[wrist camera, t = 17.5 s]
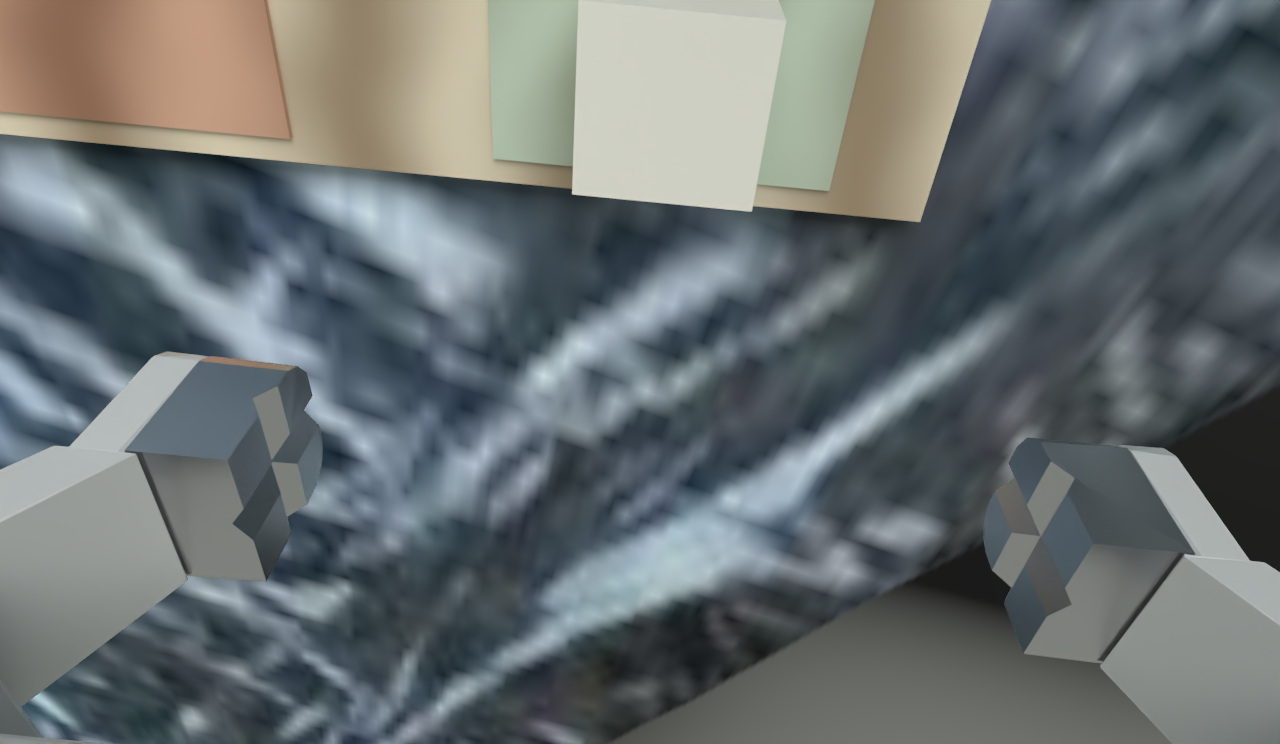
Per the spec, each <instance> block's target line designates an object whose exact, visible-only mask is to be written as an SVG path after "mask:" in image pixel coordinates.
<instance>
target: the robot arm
mask: <svg viewBox="0 0 1280 744" xmlns="http://www.w3.org/2000/svg"><path fill="white" fill-rule="evenodd" d="M311 397H312V392H311V388H310V385H309V381H308V377H307V373H306V372H305V371H303V370H302V369H301V368H299V367H298V366H290V365H282V364H273V363H265V362H257V361H248V360H240V359H232V358H223V357H215V356H211V357H207V356H201V355H193V354H184V353H175V352H164V353H161V354H158V355H155V356H153V357H152V358H151V359H150V360H149V361H148V362H147V363H146V364H145V366H144V367H143V368H142V369H141V370H140V371H139V372H138V373H137V374H136V375H135V376H134V377H133V378H132V380H131V381H130V382H129V383H128V384H127V385H126V386H125V387H124V388H123V389H122V390H121V391H120V393H119V394H118V395H117V396H116V397H115V398H114V399H113V400H112V401H111V402H110V403H109V404H108V405H107V407H106V408H105V409H104V410H103V411H102V412H101V413H100V414H99V415H98V416H97V417H96V418H95V419H94V421H93V422H92V423H91V424H90V425H89V426H88V427H87V428H86V429H85V430H84V431H83V432H82V434H81V435H80V436H79V437H78V438H77V439H76V440H75V441H74V442H73V443H72V444H71V445H70V446H69V447H63V446H52V447H50V448H48V449H46V450H43V451H41V452H39V453H37V454H34V455H32V456H30V457H28V458H25V459H23V460H21V461H19V462H16V463H14V464H12V465H10V466H8V467H5V468H3V469H1V470H0V744H104V743H93V742H83V741H72V740H61V739H51V738H43V736H42V735H41V734H40V732H39V731H38V729H37V728H36V727H35V725H34V724H33V723H32V721H31V720H30V718H29V717H28V716H27V714H26V713H25V712H24V710H23V709H22V707H21V706H23V705H24V704H25V703H27V702H28V701H29V700H31V699H32V698H33V697H35V696H36V695H37V694H38V693H40V692H41V691H42V690H44V689H45V688H46V687H48V686H49V685H50V684H52V683H53V682H54V681H56V680H57V679H58V678H60V677H61V676H62V675H63V674H65V673H66V672H67V671H69V670H70V669H71V668H73V667H74V666H75V665H77V664H78V663H79V662H81V661H82V660H83V659H85V658H86V657H87V656H89V655H90V654H91V653H92V652H94V651H95V650H96V649H98V648H99V647H100V646H102V645H103V644H104V643H106V642H107V641H108V640H110V639H111V638H112V637H114V636H115V635H116V634H117V633H119V632H120V631H121V630H123V629H124V628H125V627H127V626H128V625H129V624H131V623H132V622H133V621H135V620H136V619H137V618H139V617H140V616H141V615H142V614H144V613H145V612H146V611H148V610H149V609H150V608H152V607H153V606H154V605H156V604H157V603H158V602H160V601H161V600H162V599H164V598H165V597H166V596H167V595H169V594H170V593H171V592H173V591H174V590H175V589H177V588H178V587H179V586H181V585H182V584H183V583H185V582H186V581H187V579H188V578H187V576H197V577H212V578H226V579H241V580H255V581H267V579H268V577H269V575H270V573H271V571H272V570H273V568H274V566H275V564H276V562H277V560H278V558H279V556H280V555H281V553H282V551H283V549H284V547H285V545H286V543H287V541H288V539H289V538H290V536H291V531H290V527H289V523H288V519H287V517H288V516H289V515H291V514H292V513H294V512H295V511H297V510H299V509H300V508H302V507H303V506H305V505H307V503H308V501H309V499H310V497H311V495H312V493H313V491H314V489H315V487H316V485H317V481H318V477H319V472H320V468H321V464H322V439H321V434H320V429H319V425H318V424H317V423H316V422H315V421H314V420H313V419H312V418H311V417H310V416H309V415H308V414H307V413H306V412H305V411H304V409H305V407H306V405H307V404H308V402H309V400H310V399H311ZM1009 465H1010V467H1011V470H1012V472H1013V474H1014V477H1015V479H1013V480H1011V481H1010V482H1008V483H1007V484H1005V485H1003V486H1002V487H1000V488H999V489H997V490H995V492H994V494H993V496H992V498H991V501H990V503H989V505H988V507H987V510H986V513H985V522H984V532H983V536H984V543H985V550H986V554H987V557H988V560H989V563H990V566H991V569H992V571H994V572H995V573H996V574H997V575H998V576H999V577H1000V578H1002V579H1003V580H1004V581H1005V582H1006V583H1007V584H1008V585H1010V587H1011V590H1010V592H1009V594H1008V596H1007V598H1006V600H1005V602H1004V604H1005V607H1006V609H1007V611H1008V615H1009V617H1010V620H1011V622H1012V625H1013V628H1014V630H1015V633H1016V636H1017V638H1018V641H1019V644H1020V646H1021V649H1022V652H1023V654H1030V655H1038V656H1046V657H1054V658H1063V659H1070V660H1079V661H1087V662H1096V663H1102V664H1101V666H1100V668H1101V669H1102V670H1103V671H1104V672H1105V673H1106V674H1107V675H1108V676H1109V677H1110V678H1111V679H1112V680H1113V681H1114V682H1115V683H1116V684H1117V685H1118V687H1119V688H1120V689H1121V690H1122V691H1123V692H1124V693H1125V694H1126V695H1127V696H1128V697H1129V698H1130V699H1131V700H1132V701H1133V703H1134V704H1135V705H1136V706H1137V707H1138V708H1139V709H1140V710H1141V711H1142V712H1143V713H1144V714H1145V715H1146V716H1147V717H1148V718H1149V720H1151V722H1152V723H1153V724H1154V725H1155V726H1156V727H1157V728H1158V729H1159V730H1160V731H1161V732H1162V733H1163V734H1164V735H1165V736H1166V738H1167V739H1168V740H1169V741H1170V742H1171V743H1172V744H1280V572H1278V571H1277V570H1275V569H1274V568H1272V567H1271V566H1269V565H1268V564H1266V563H1264V562H1255V561H1250V560H1249V559H1248V558H1247V556H1246V555H1245V553H1244V552H1243V550H1242V549H1241V548H1240V546H1239V545H1238V543H1237V542H1236V540H1235V539H1234V538H1233V536H1232V535H1231V533H1230V532H1229V531H1228V529H1227V528H1226V526H1225V525H1224V523H1223V522H1222V521H1221V519H1220V518H1219V516H1218V515H1217V513H1216V512H1215V511H1214V509H1213V508H1212V506H1211V505H1210V504H1209V502H1208V501H1207V499H1206V498H1205V497H1204V495H1203V494H1202V492H1201V491H1200V490H1199V488H1198V487H1197V485H1196V484H1195V482H1194V481H1193V480H1192V478H1191V477H1190V475H1189V474H1188V472H1187V471H1186V469H1185V468H1184V467H1183V465H1182V464H1181V462H1180V461H1179V460H1178V458H1177V457H1176V456H1175V455H1173V454H1172V453H1170V452H1169V451H1167V450H1166V449H1164V448H1153V447H1140V446H1127V445H1116V446H1111V445H1102V444H1091V443H1080V442H1069V441H1058V440H1047V439H1036V438H1026V439H1025V440H1024V441H1023V442H1022V443H1021V444H1020V445H1019V446H1017V448H1016V450H1015V452H1014V454H1013V456H1012V458H1011V460H1010V461H1009Z"/></svg>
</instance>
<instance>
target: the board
mask: <svg viewBox="0 0 1280 744" xmlns="http://www.w3.org/2000/svg"><path fill="white" fill-rule="evenodd" d="M778 1H779V3H780V6H781V8H782V11H783V13H784V16H785V18H786V26H785V32H784V37H783V43H782V48H781V54H780V59H779V65H778V70H777V76H776V81H775V87H774V92H773V98H772V103H771V109H770V114H769V120H768V125H767V131H766V137H765V142H764V148H763V153H762V159H761V164H760V170H759V175H758V181H757V186H756V192H755V197H754V203H753V206H757V207H768V208H778V209H789V210H799V211H809V212H820V213H830V214H841V215H851V216H862V217H872V218H882V219H893V220H903V221H914V222H920V221H921V218H922V214H923V211H924V208H925V205H926V202H927V199H928V196H929V193H930V189H931V186H932V183H933V180H934V177H935V174H936V171H937V168H938V165H939V161H940V158H941V155H942V152H943V149H944V146H945V143H946V140H947V137H948V133H949V130H950V127H951V124H952V121H953V118H954V115H955V112H956V109H957V105H958V102H959V99H960V96H961V93H962V90H963V87H964V84H965V80H966V77H967V74H968V71H969V68H970V65H971V62H972V59H973V56H974V52H975V49H976V46H977V43H978V40H979V37H980V34H981V31H982V28H983V24H984V21H985V18H986V15H987V12H988V9H989V6H990V3H991V0H778ZM577 27H578V0H0V134H7V135H17V136H28V137H38V138H49V139H59V140H69V141H80V142H90V143H101V144H111V145H122V146H132V147H142V148H153V149H163V150H174V151H184V152H194V153H205V154H215V155H226V156H236V157H247V158H257V159H267V160H278V161H288V162H299V163H309V164H320V165H330V166H340V167H351V168H361V169H372V170H382V171H393V172H403V173H413V174H424V175H434V176H445V177H455V178H465V179H476V180H486V181H497V182H507V183H518V184H528V185H538V186H549V187H559V188H570V189H572V179H573V148H574V118H575V88H576V57H577Z"/></svg>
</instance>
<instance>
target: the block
mask: <svg viewBox="0 0 1280 744" xmlns="http://www.w3.org/2000/svg"><path fill="white" fill-rule="evenodd" d="M785 26H786V18H785V16H784V13H783V11H782V8H781V6H780V3H779V1H778V0H578V27H577V57H576V88H575V118H574V148H573V179H572V195H583V196H593V197H603V198H614V199H624V200H634V201H645V202H655V203H666V204H676V205H686V206H697V207H707V208H717V209H728V210H738V211H748V212H752V208H753V203H754V197H755V192H756V186H757V181H758V175H759V170H760V164H761V159H762V153H763V148H764V142H765V137H766V131H767V125H768V120H769V114H770V109H771V103H772V98H773V92H774V87H775V81H776V76H777V70H778V65H779V59H780V54H781V48H782V43H783V37H784V32H785Z"/></svg>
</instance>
